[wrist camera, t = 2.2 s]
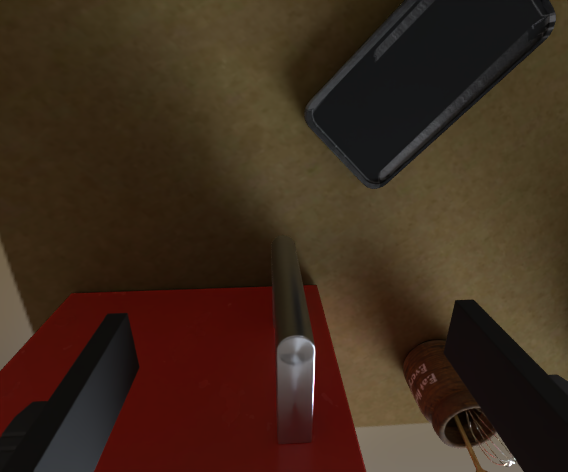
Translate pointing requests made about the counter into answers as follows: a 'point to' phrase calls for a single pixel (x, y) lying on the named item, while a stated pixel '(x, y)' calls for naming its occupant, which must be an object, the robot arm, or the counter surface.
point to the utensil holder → (447, 400)
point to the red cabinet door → (208, 377)
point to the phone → (421, 78)
